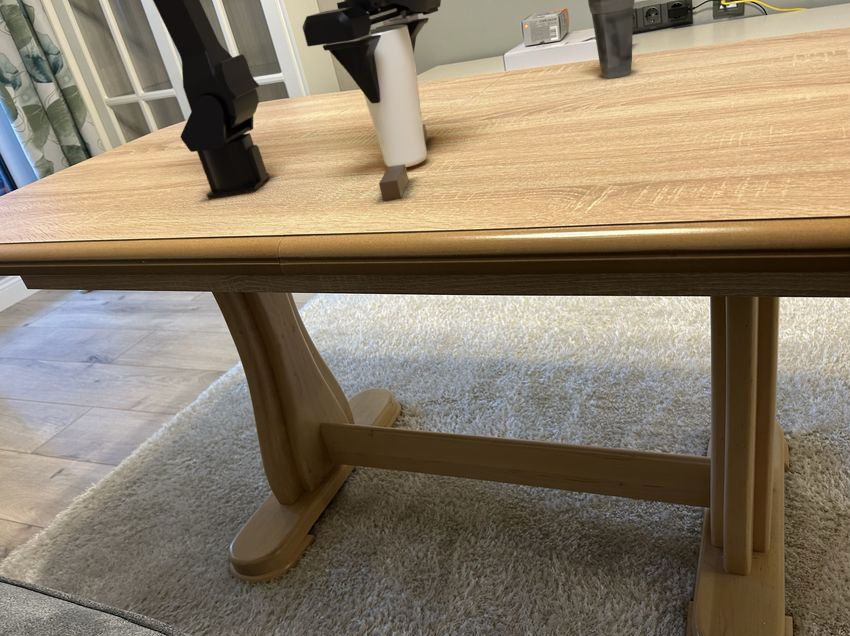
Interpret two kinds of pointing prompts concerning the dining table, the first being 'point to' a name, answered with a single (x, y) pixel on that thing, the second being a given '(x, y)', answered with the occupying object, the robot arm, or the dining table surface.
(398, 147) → the drinking glass
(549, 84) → the dining table surface
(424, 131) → the far stick
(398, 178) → the near stick
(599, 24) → the beverage cup
